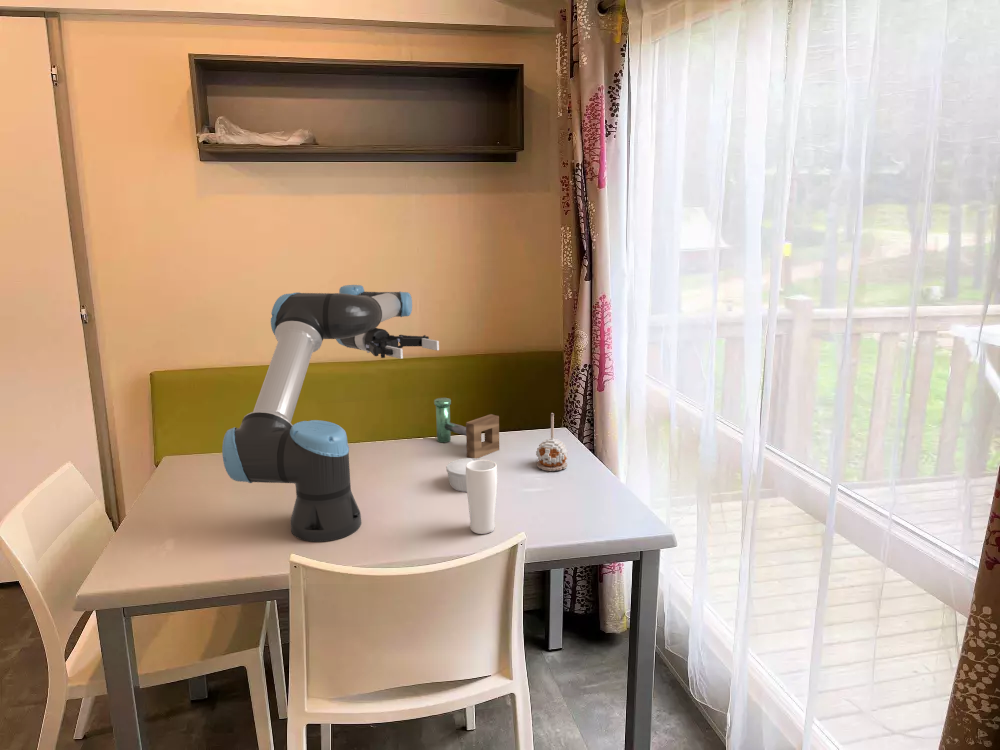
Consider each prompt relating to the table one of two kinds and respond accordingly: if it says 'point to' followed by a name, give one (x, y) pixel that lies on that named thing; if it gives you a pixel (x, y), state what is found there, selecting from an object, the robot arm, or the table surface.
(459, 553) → the table surface
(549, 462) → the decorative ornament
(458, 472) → the ramekin
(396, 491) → the table surface
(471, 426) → the brown striped block
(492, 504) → the drinking glass
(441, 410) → the green tall capped cylinder
